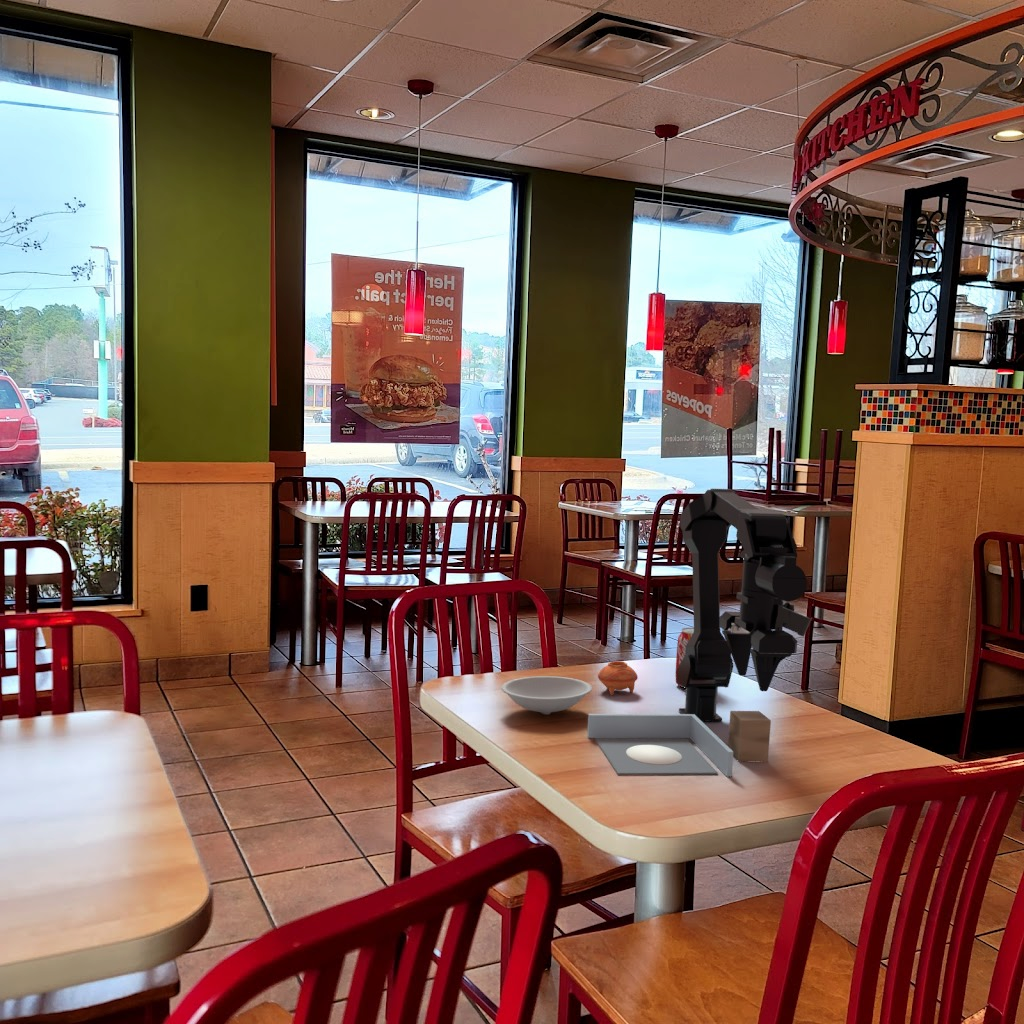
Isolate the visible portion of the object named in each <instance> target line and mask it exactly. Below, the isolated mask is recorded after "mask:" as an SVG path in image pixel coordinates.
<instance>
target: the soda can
mask: <svg viewBox="0 0 1024 1024" xmlns="http://www.w3.org/2000/svg"><path fill="white" fill-rule="evenodd" d="M693 633H694V627H682V628H681V632H680V633H679V635H678V638H677V643H676V644H677V645H676V657H675V658H676V659H675V671H676V670H677V668H678V666H679V665H680V663H681V661H682V660H683V658H684V656H685V649H686V645H687V643H688V641H689V639H690V638H691V636H692V634H693ZM675 684H677V685H678V686H679V687H680V686H681V687H684V686H683V685H681V684H680V683H679V682H677V674H676V673H675ZM681 687H680V688H681Z"/></svg>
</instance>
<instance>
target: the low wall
mask: <svg viewBox="0 0 1024 1024" xmlns="http://www.w3.org/2000/svg"><path fill="white" fill-rule="evenodd" d="M586 728H587V733H586V738H587V739H595V738H686V739H690V740H691V741H692V742H693V743H694V744H695V745H696V746H697V747H698V748H699V750H700V751H701V752H702V753H704V754H705V756H707V758H708V759H709V760H710V761H711V762H712V763H713V764H714V765H715V767H717V768H718V769H719V770H720V771H721V773H723V775H724V776H725V777H726V776H727V778H732V777H733V762H734V757H733V751H732V750H731V749H730V748H729V747H728V744H726V743H725V742H724V741H723V740H722V739H720V737H719V736H718V735H716V733H714V732H713V731H712V730H711V728H709V727H708V726H707V724H705V722H704V721H701V720H700V719H699V718H698V717H697V716H696V715H695V714H681V713H588V714H587V727H586ZM729 776H730V777H729ZM731 776H732V777H731Z"/></svg>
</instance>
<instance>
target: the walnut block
mask: <svg viewBox="0 0 1024 1024" xmlns="http://www.w3.org/2000/svg"><path fill="white" fill-rule="evenodd" d="M771 723H772V722H771V719H770V718H768V717H767V716H766V715H765V714H763V713H762V712H761V711H759V710H730V714H729V727H728V740H727V741H728V742H727V746H728V747H729V748H730V749H731V750H732V751H733V759H734V760H736V761H737V760H738V761H741V762H740V763H749V762H748V761H755V762H754V763H757V762H756V761H760V762H759V763H768V762H769V751H770V735H771ZM738 761H737V762H738ZM743 761H745V762H743ZM746 761H747V762H746ZM761 761H762V762H761Z"/></svg>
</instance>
